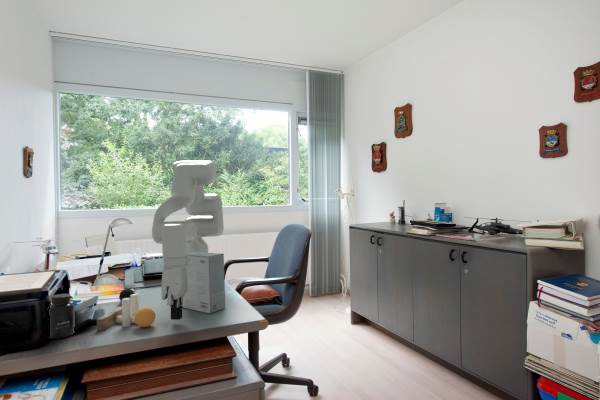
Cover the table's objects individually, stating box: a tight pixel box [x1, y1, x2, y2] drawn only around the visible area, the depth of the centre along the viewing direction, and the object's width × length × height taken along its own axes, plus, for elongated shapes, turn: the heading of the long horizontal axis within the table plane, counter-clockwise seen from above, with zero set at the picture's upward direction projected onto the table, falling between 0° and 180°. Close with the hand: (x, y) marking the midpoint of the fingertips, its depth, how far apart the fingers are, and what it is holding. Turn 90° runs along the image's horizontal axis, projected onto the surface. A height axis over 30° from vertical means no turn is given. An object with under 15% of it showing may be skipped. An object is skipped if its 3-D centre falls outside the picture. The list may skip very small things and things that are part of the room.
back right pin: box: [130, 293, 140, 316], centre depth 123 cm, size 2×2×8 cm
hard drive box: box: [181, 251, 226, 314], centre depth 135 cm, size 16×8×20 cm, turn 56°
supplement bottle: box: [49, 293, 75, 340], centre depth 111 cm, size 7×7×12 cm
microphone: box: [118, 288, 136, 303], centre depth 151 cm, size 6×6×20 cm
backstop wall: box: [96, 305, 122, 332], centre depth 121 cm, size 14×2×4 cm, turn 175°
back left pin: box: [121, 298, 132, 328], centre depth 118 cm, size 2×2×8 cm
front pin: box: [115, 316, 136, 324], centre depth 121 cm, size 2×2×8 cm
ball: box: [135, 306, 156, 328], centre depth 117 cm, size 6×6×6 cm
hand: (176, 318), depth 120 cm, fingers closed
